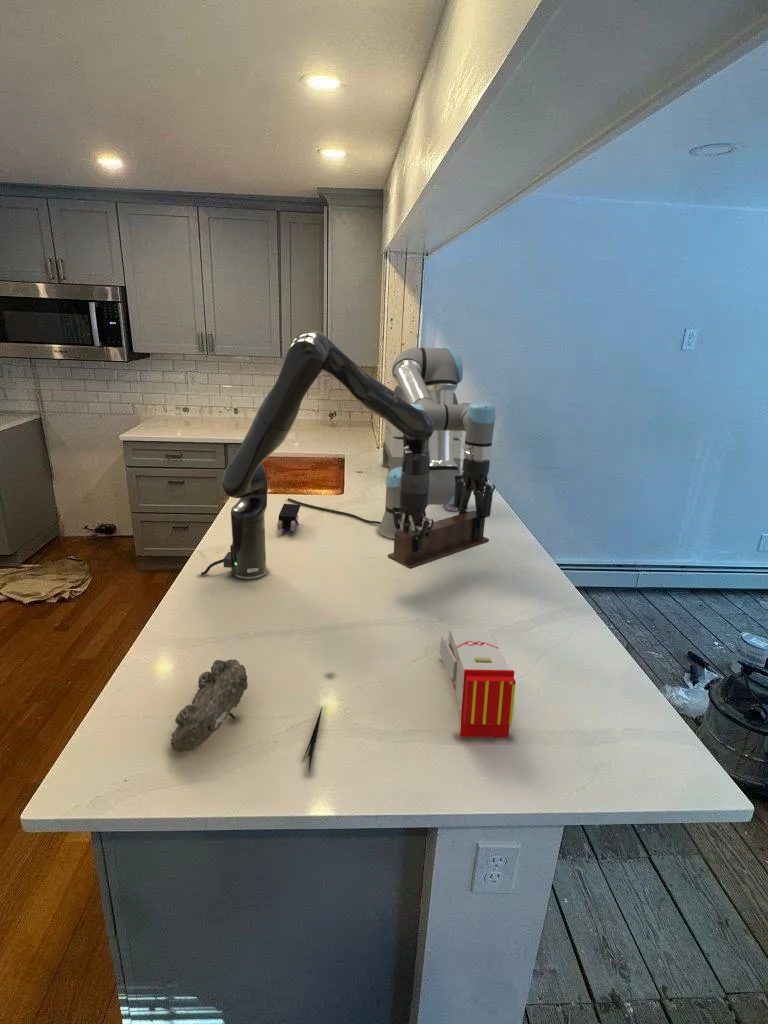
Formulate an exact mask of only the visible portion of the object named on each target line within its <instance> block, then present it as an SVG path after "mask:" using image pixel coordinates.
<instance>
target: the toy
mask: <svg viewBox="0 0 768 1024" xmlns="http://www.w3.org/2000/svg"><path fill="white" fill-rule="evenodd" d="M438 654H439V656H440V658H441V660H442V662H443V665H444V666H445V668H446V671H447V673H448V675H449V677H450V681H451V683H452V685H453V689H454V690H455V695H456V698H457V702H458V705H459V708H460V726H459V737H460V738H509V737H510V728H511V727H510V726H512V725H513V717H514V706H515V705H514V704H515V693H516V684H517V683H516V679H515V670H514V669H510V667H509V666H508V663H507V662H506V660H505V658H504V655H503V654H502V652H501V650H500V648H499V644H498V642H497V638H496V635H495V634H492V632H491V631H490V629H467V628H466V629H465V628H463V629H461V628H460V629H459V628H450V629H449V631H448V641H447V639H446V638H445V636H444V634H443V635H442V634H441V635H440V641H439V651H438Z"/></svg>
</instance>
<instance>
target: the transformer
mask: <svg viewBox="0 0 768 1024" xmlns="http://www.w3.org/2000/svg"><path fill="white" fill-rule="evenodd" d="M393 391H394V392H395V393H397V394H398V395H399V396H401V397H402V398H403V399H404V400H405V401H406V398H405V396H404V394H403V391H402V389H401V386H400V385H398V384H397V385H396V386H395V388H394V389H393ZM406 402H407V401H406ZM453 405H459V402H458V398H457V395H456V392H455V391H454V392H453ZM384 424H385V425H384V426H385V427H384V440H383V441H382V442H383V443H382V463H381V464H382V465H383V467H386V468H388V472H389V471H390V470H392V469H394V468H397V467H402V459H403V450H404V447H403V433H402V432H401V431H399V430H398V429H397V428H396V427H394V426H393V425H392V424H391V423H389V422H388V421H386V420H384ZM463 432H464V431H453V450H454V462H455V463H456V464H457V465H458V471H461V462H462V458H461V452H462V443H463V442H462V438H463ZM428 449H429V444H428Z"/></svg>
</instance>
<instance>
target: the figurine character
mask: <svg viewBox="0 0 768 1024" xmlns="http://www.w3.org/2000/svg"><path fill="white" fill-rule="evenodd" d="M300 509H301V504H298V503H283V505H282V507H281V509H280V512H279V514H278V521H277V526H276V529H277V531H278V532H281V535H283V536H284V535H285V532H287V533H289V532H290V533H289V535H290V536H293V533H294V532H295V531H297V527H299V526H300V523H299V514H298V513H299V512H300Z"/></svg>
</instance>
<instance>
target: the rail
mask: <svg viewBox="0 0 768 1024" xmlns="http://www.w3.org/2000/svg"><path fill="white" fill-rule="evenodd" d="M475 517H476V509H475V510H470V511H468V512H466V513H463V514H459V513H458V514H456V515H453V516H449V517H445V518H442V519H439V520H435V521H434V523H433V526H432V530H431V533H430V536H429V538H428V539H424V540H422V549H421V551H420V552H417V553H415V552H413V547H414V532H412V529H407V530H404V531H400V532H397V533H395V537H394V539H393V552H391V553H388V554H387V558H388V559H390V560H392V561H394V562H396V563H397V564H399V565H401V566H403V567H405V568H406V569H409V570H412V569H414V568H418V567H420V566H423V565H427V564H429V563H432V562H435V561H438V560H440V559H443V558H444V559H445V558H447V557H450V556H452V555H455V554H458V553H461V552H463V551H467V550H469V549H473V548H476V547H478V546H482V545H484V544H487V543H489V542H490V538H488V537H485V536H484V535H485V534H484V533H485V523H486V518H484V520H483V527H482V528H481V531H480V537H479V538H476V539H472V532H473V522H474V518H475ZM418 527H419V526H418ZM416 528H417V527H416ZM418 535H419V531H418Z"/></svg>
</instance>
